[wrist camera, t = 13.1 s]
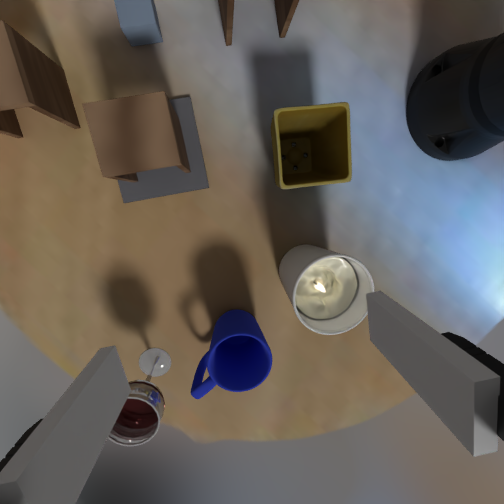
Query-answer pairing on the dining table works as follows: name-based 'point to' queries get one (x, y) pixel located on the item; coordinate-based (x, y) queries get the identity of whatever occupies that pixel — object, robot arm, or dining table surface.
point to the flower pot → (312, 145)
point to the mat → (172, 177)
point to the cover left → (30, 83)
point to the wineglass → (142, 403)
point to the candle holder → (325, 288)
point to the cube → (139, 21)
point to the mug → (234, 356)
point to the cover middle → (136, 135)
